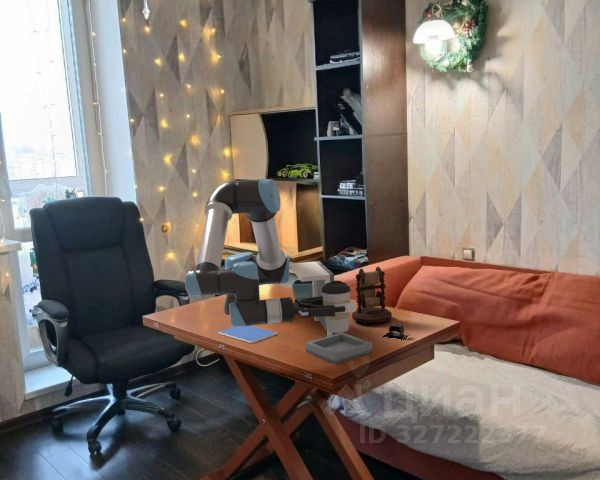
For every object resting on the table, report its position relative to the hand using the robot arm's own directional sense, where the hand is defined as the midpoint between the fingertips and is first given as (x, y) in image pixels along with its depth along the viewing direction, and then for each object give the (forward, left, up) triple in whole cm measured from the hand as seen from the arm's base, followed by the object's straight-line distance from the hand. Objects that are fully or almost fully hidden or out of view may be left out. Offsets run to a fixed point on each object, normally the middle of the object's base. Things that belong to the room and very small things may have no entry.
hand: (351, 303), depth 184 cm
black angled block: (-1, +20, -16) cm, 26 cm away
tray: (-2, -4, -16) cm, 16 cm away
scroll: (-20, +26, -16) cm, 36 cm away
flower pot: (-59, +23, -16) cm, 65 cm away
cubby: (-26, +3, -16) cm, 30 cm away
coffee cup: (-2, -4, -8) cm, 9 cm away
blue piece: (-39, -16, -16) cm, 45 cm away
